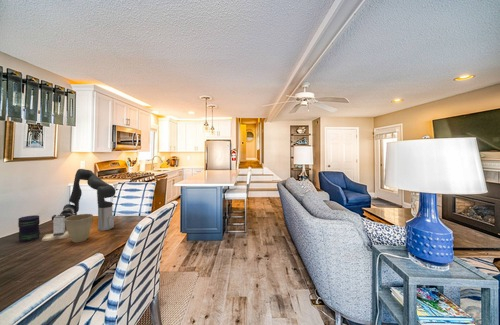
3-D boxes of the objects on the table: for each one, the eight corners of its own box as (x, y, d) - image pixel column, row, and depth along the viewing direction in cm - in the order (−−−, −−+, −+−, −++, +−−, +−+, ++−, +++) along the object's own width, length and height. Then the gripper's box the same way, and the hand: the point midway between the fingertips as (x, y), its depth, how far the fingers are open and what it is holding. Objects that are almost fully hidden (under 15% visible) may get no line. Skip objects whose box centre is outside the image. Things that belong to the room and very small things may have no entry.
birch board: (75, 232, 154) (75, 230, 154) (73, 236, 146) (73, 234, 146) (46, 236, 146) (46, 234, 146) (41, 241, 137) (41, 239, 137)
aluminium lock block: (65, 232, 150) (65, 215, 149) (63, 235, 145) (63, 217, 144) (55, 233, 147) (55, 216, 147) (53, 236, 142) (53, 218, 141)
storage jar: (24, 237, 143) (23, 216, 143) (43, 235, 147) (42, 214, 146) (14, 243, 134) (14, 220, 133) (34, 241, 137) (34, 218, 137)
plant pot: (75, 236, 147) (75, 213, 146) (98, 235, 148) (98, 213, 148) (58, 245, 132) (58, 220, 132) (83, 245, 133) (83, 220, 133)
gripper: (55, 209, 164) (49, 215, 151) (78, 207, 172) (75, 212, 158) (55, 219, 165) (49, 225, 151) (78, 216, 172) (75, 222, 159)
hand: (62, 218), depth 155 cm, fingers open, 8 cm apart
